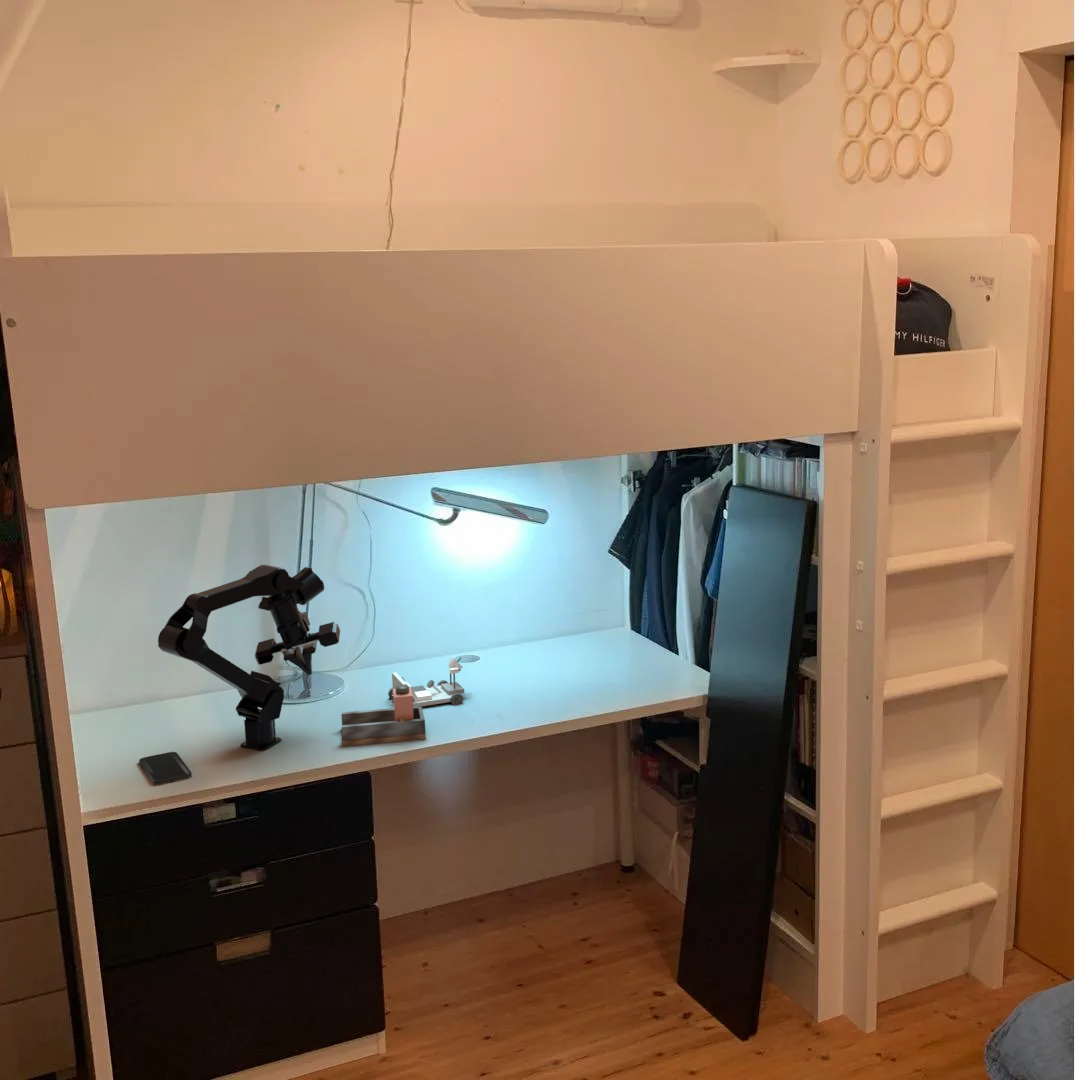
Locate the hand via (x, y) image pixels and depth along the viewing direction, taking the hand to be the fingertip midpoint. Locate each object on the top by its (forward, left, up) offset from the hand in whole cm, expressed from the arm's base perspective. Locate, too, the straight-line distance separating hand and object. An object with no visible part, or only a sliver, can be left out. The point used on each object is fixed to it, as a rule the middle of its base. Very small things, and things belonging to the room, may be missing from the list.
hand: (310, 673), depth 261 cm
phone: (-33, +14, -13) cm, 38 cm away
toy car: (+24, -17, -13) cm, 32 cm away
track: (+1, -18, -12) cm, 22 cm away
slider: (+3, -22, -11) cm, 25 cm away
